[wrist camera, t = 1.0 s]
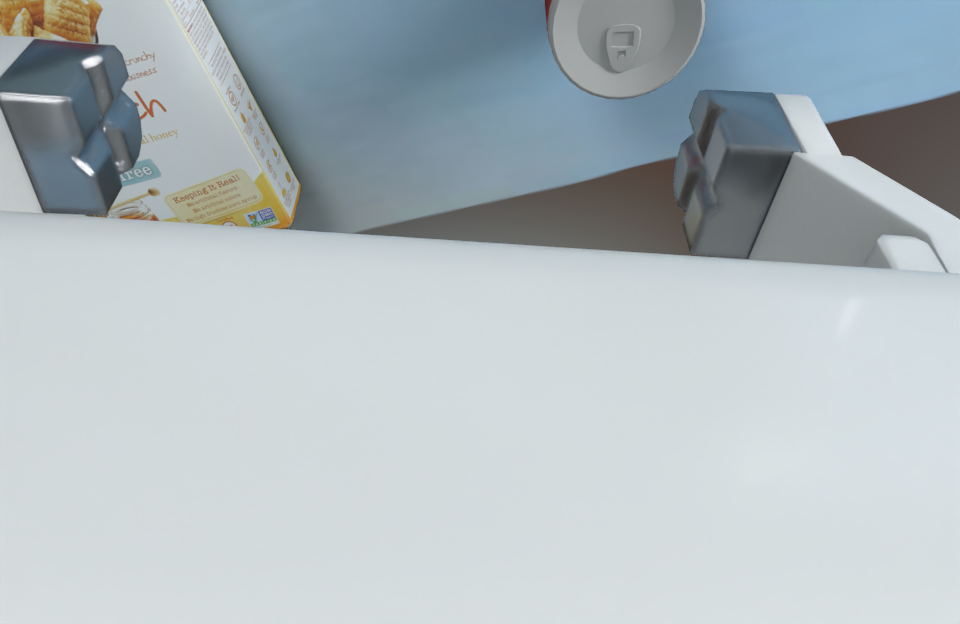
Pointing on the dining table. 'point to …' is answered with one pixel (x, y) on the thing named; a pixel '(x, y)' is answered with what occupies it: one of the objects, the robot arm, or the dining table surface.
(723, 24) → the dining table surface
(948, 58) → the dining table surface
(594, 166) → the dining table surface
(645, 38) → the canned food
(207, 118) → the cereal box
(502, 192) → the dining table surface
